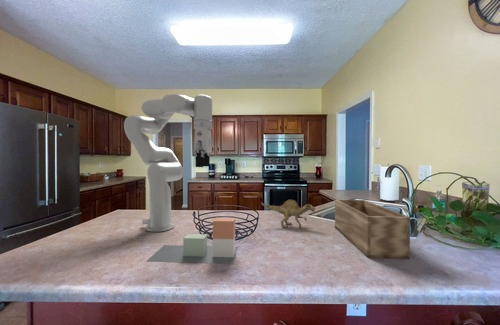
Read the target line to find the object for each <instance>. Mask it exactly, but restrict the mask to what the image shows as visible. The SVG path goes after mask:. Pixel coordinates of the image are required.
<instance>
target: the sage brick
mask: <svg viewBox="0 0 500 325" xmlns="http://www.w3.org/2000/svg"><path fill="white" fill-rule="evenodd" d="M182 241H183V243H182V244H183V245H182V246H183V256H203V257H204V256H205V254H206V252H207V246H208V234H207V233H205V234H202V233H201V234H199V233H198V234H197V233H196V234H195V233H193V234H192V233H187V234H186V235H185V236H184V237H183V240H182Z"/></svg>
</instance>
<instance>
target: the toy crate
mask: <svg viewBox="0 0 500 325" xmlns="http://www.w3.org/2000/svg"><path fill="white" fill-rule="evenodd" d="M334 201H335V202H334V204H335V205H334V206H335V207H334V229H335V230H337V231H338V232H339V233H340V235H342V236H343V237H344V238H345V239H346V240H348V242H350V244H352V245H353V246H354V247H355V248H356V249H357V250H358V251H360V253H361V254H362V255H364V256H365V257H366V258H369V259H370V258H371V259H401V260H402V259H407V260H409V259H410V258H411V257H410V255H411V253H410V252H411V217H409V216H407V215H404V214H401V213H399V212H397V211H394V210H391V209H389V208H386V207H384V206H381V205H379V204H376V203H373V202H370V201H368V200H365V199H335V200H334Z"/></svg>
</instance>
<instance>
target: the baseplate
mask: <svg viewBox="0 0 500 325" xmlns="http://www.w3.org/2000/svg"><path fill="white" fill-rule="evenodd" d="M238 248H239V247H238V246H235V254H234V257H213V245H211V246H210V245H207V252H206V254H205V256H204V257H203V256H183V245H180V244H179V245H175V244H174V245H173V244H172V245H171V244H170V245H169V244H168V245H167V244H164V245H163V246H162V247H160V248H159V249H157V251H156V252H155V253H154V254H152V255H151V256H150V257H149V258H148V259H147V260H146V262H147V263H149V262H152V263H179V264H181V263H183V264H184V263H185V264H187V263H188V264H214V265H215V264H216V265H217V264H218V265H220V264H221V265H234V263H235V260H236V255H237V252H238Z"/></svg>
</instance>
